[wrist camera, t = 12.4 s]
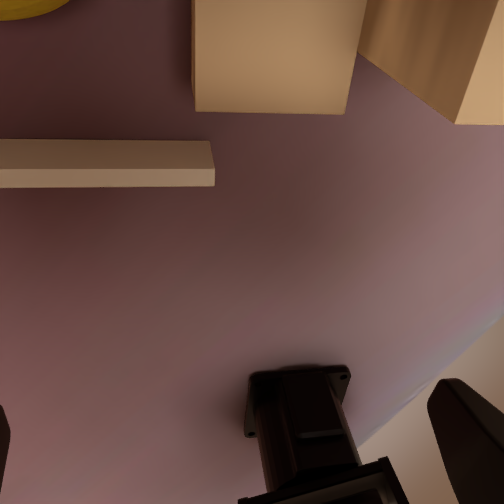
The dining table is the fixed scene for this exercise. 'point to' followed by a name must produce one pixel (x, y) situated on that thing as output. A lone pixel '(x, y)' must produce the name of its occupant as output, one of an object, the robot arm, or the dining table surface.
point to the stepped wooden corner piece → (347, 54)
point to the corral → (105, 163)
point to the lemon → (27, 8)
